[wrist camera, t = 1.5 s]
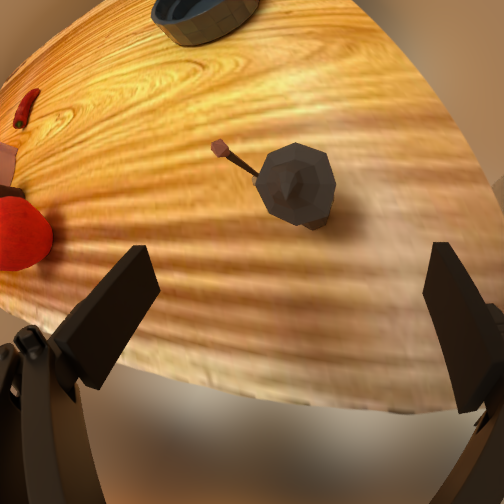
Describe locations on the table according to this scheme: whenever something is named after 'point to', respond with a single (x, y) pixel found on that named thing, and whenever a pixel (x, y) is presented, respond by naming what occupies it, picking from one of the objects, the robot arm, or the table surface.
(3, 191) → the sculpture
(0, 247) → the apple
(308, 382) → the table surface
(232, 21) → the basin
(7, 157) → the clip
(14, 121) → the vegetable
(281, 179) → the wizard figurine
